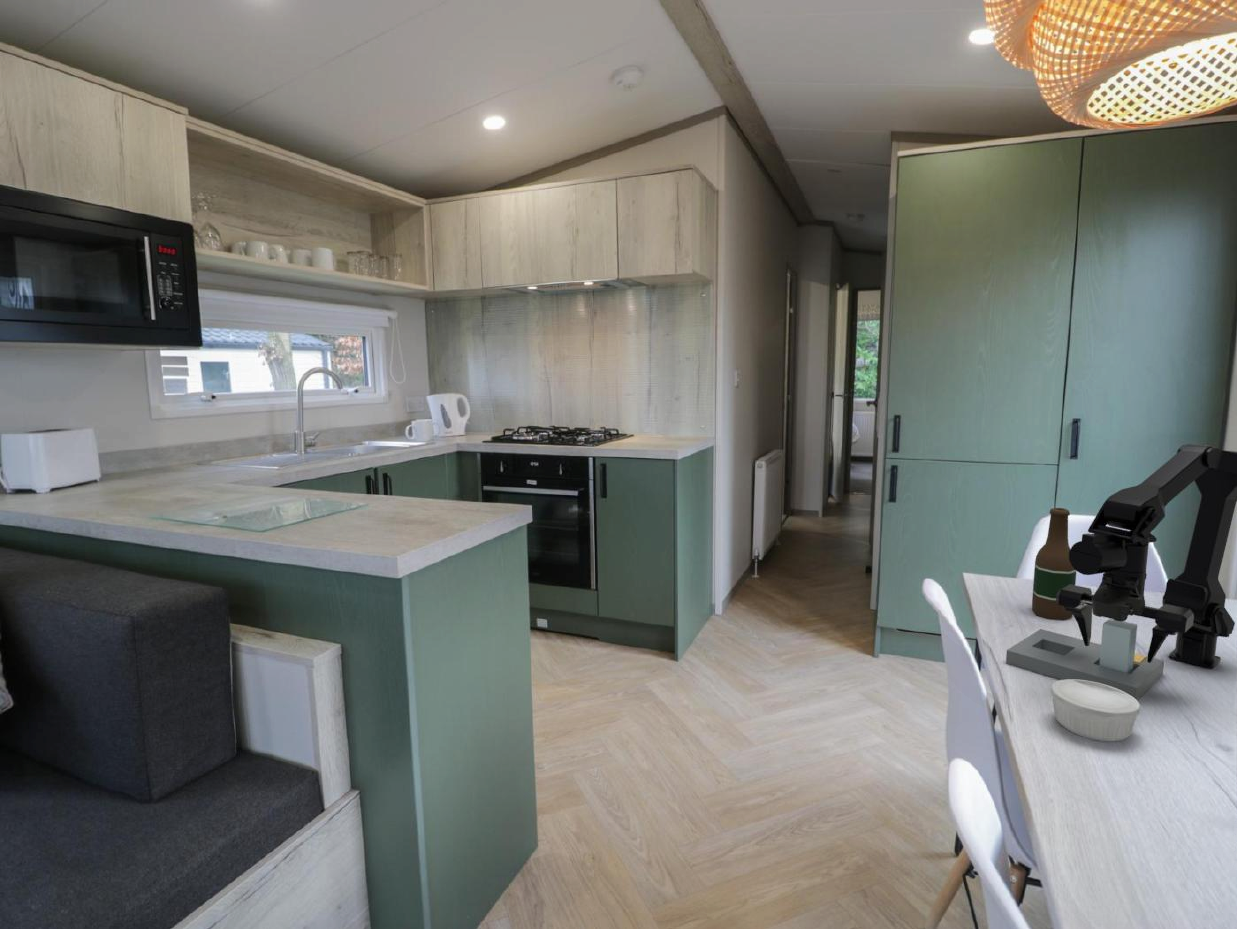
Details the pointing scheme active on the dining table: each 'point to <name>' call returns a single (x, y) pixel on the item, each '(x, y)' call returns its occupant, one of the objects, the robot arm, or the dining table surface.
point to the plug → (1118, 645)
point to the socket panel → (1081, 662)
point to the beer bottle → (1053, 569)
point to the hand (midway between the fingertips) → (1117, 653)
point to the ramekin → (1094, 709)
